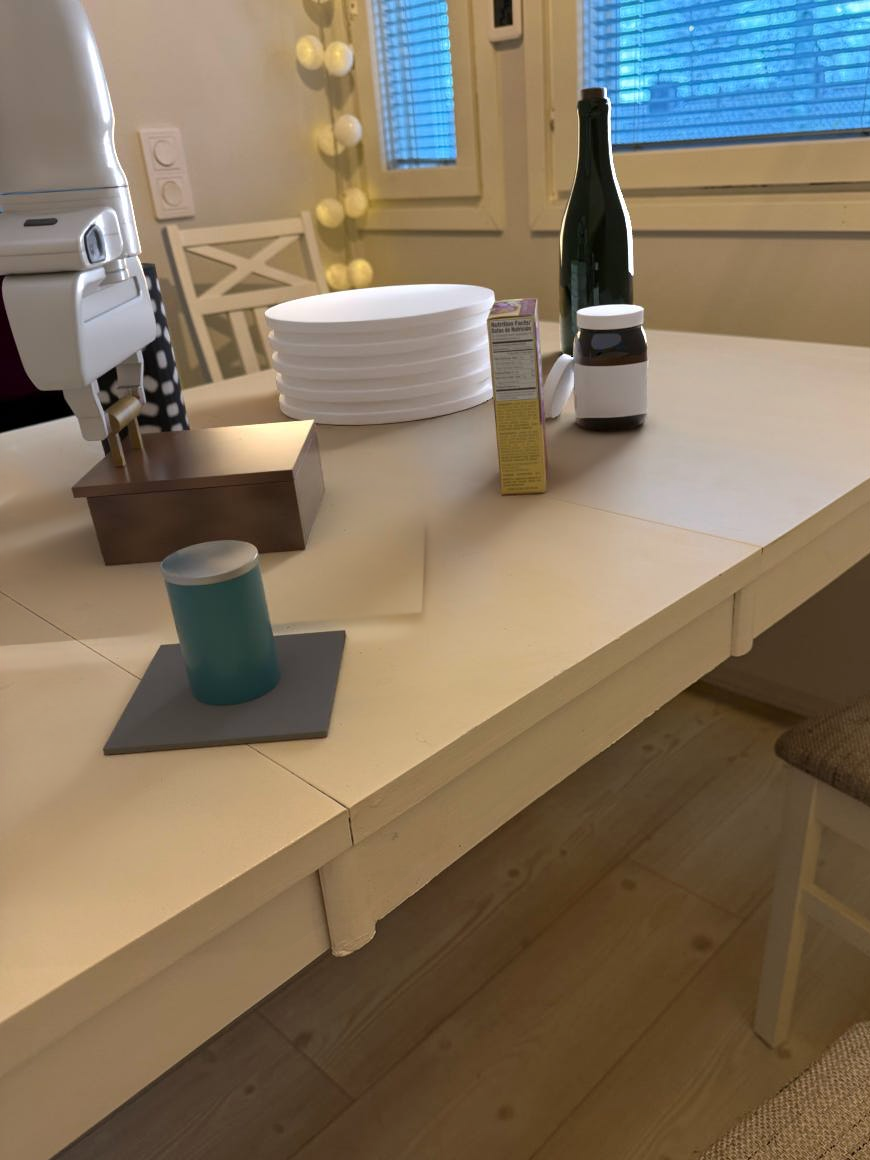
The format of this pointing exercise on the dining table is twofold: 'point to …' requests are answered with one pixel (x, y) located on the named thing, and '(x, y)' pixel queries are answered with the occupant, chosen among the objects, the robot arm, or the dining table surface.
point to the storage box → (210, 516)
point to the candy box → (518, 395)
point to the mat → (284, 713)
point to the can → (222, 621)
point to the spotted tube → (152, 376)
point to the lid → (193, 456)
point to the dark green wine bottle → (593, 224)
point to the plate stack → (382, 353)
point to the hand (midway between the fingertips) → (117, 422)
